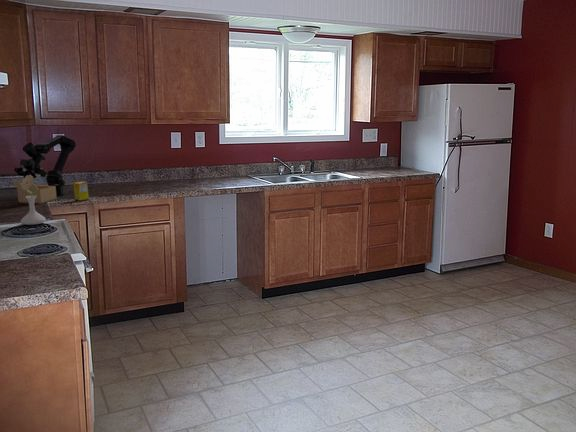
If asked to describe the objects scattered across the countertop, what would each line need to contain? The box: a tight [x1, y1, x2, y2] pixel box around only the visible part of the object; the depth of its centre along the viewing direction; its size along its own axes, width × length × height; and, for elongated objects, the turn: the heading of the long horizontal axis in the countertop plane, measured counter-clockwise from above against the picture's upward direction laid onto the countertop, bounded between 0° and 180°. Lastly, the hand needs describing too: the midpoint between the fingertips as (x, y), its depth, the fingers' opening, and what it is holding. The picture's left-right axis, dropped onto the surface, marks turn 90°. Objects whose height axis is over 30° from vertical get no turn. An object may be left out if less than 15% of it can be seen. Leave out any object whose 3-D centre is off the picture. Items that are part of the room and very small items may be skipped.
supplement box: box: [73, 181, 90, 202], centre depth 338 cm, size 6×6×11 cm
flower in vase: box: [20, 175, 46, 226], centre depth 276 cm, size 13×11×25 cm
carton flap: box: [11, 179, 38, 190], centre depth 327 cm, size 7×14×1 cm
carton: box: [16, 184, 58, 205], centre depth 338 cm, size 15×16×8 cm
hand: (24, 183), depth 327 cm, fingers closed, pressing on carton flap
